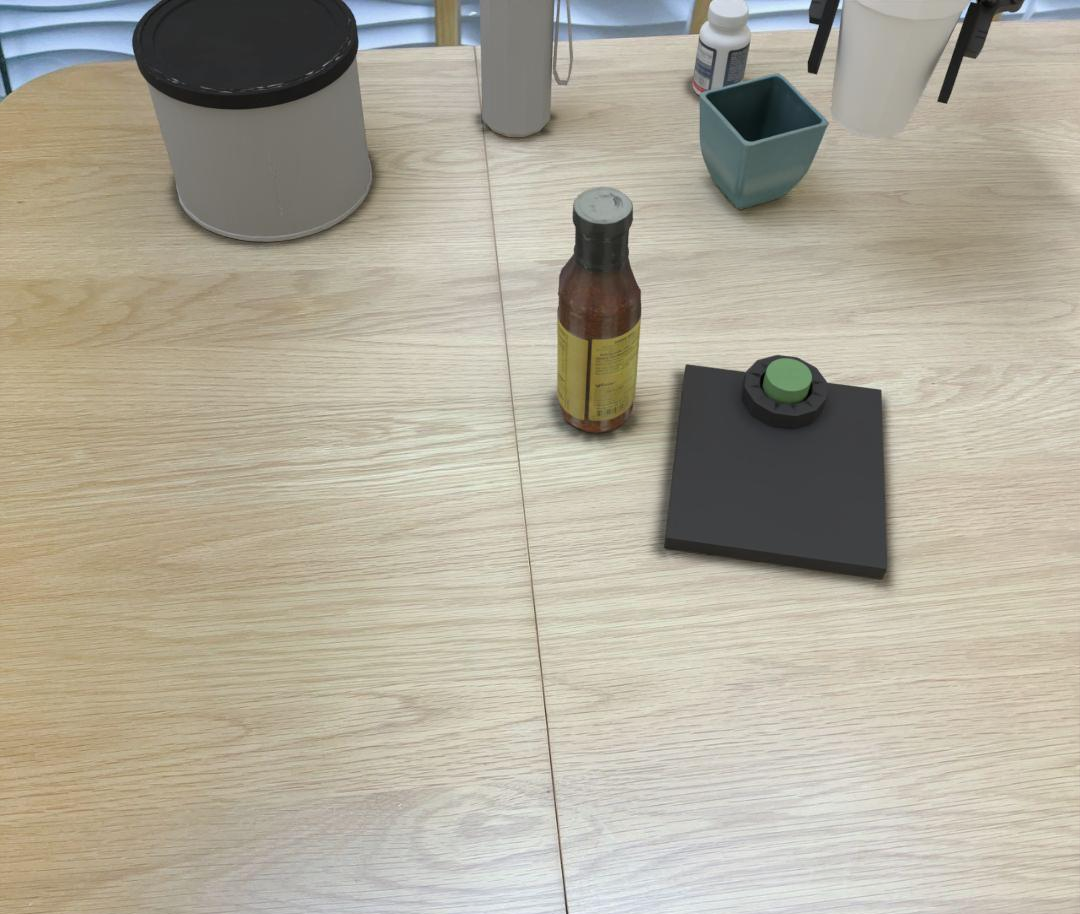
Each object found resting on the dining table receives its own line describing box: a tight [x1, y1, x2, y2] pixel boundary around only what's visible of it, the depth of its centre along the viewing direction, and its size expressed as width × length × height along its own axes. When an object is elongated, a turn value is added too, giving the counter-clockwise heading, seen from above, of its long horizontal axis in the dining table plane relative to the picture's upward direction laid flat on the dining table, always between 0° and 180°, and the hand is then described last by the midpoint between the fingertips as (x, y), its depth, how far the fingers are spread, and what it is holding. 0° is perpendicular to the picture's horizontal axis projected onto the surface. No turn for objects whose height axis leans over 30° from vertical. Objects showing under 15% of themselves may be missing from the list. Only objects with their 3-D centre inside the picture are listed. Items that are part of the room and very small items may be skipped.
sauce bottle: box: [556, 186, 642, 434], centre depth 81 cm, size 6×6×20 cm
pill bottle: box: [692, 0, 752, 96], centre depth 113 cm, size 5×5×9 cm
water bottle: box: [479, 0, 574, 138], centre depth 102 cm, size 9×8×25 cm
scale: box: [663, 354, 888, 580], centre depth 84 cm, size 16×19×3 cm
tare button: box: [763, 358, 812, 404], centre depth 86 cm, size 4×4×2 cm
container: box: [131, 0, 373, 243], centre depth 99 cm, size 19×19×15 cm
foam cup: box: [829, 0, 972, 140], centre depth 84 cm, size 10×9×13 cm
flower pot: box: [699, 72, 829, 210], centre depth 102 cm, size 9×9×9 cm
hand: (877, 83), depth 84 cm, fingers closed on foam cup, 9 cm apart
